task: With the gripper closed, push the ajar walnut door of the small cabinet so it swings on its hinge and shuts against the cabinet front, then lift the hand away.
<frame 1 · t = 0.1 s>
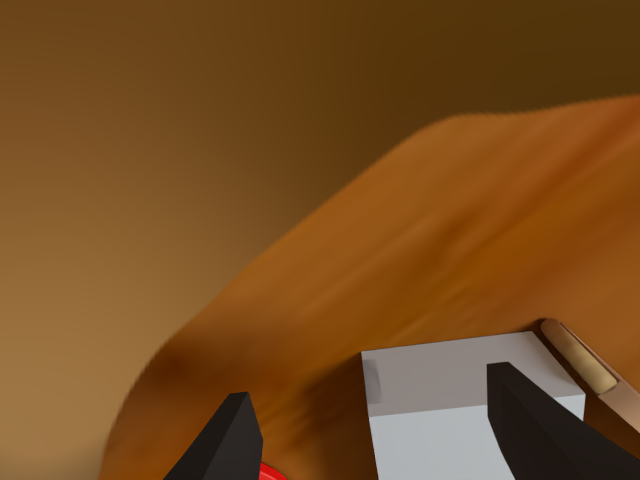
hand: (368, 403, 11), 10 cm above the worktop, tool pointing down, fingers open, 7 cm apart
cabinet: (450, 434, 25), on the worktop
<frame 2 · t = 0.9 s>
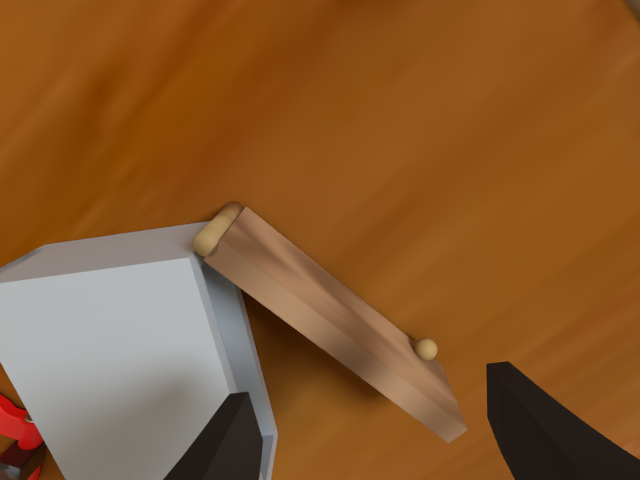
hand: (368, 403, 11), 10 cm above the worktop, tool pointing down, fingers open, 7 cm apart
cabinet: (172, 348, 23), on the worktop
door: (346, 309, 18), point 3 cm above the worktop, hinge at 40.0°
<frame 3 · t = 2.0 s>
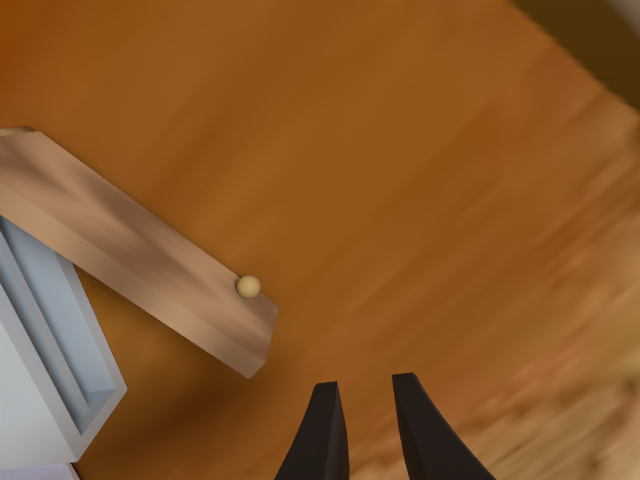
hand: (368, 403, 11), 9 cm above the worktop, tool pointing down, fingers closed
door: (139, 238, 17), point 3 cm above the worktop, hinge at 40.0°
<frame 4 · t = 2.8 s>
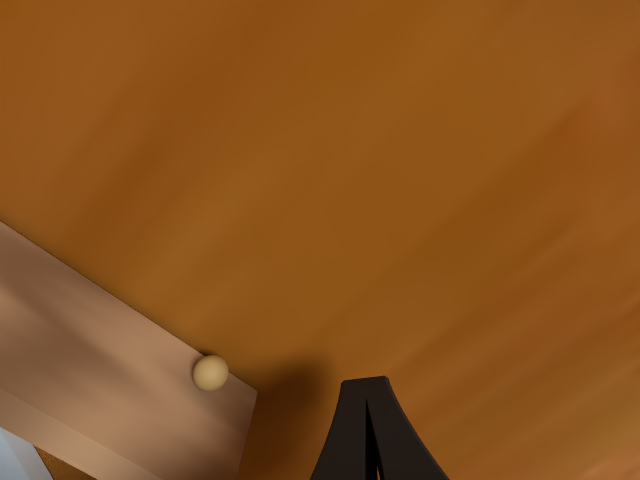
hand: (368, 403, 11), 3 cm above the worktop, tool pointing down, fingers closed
door: (36, 314, 11), point 3 cm above the worktop, hinge at 40.0°
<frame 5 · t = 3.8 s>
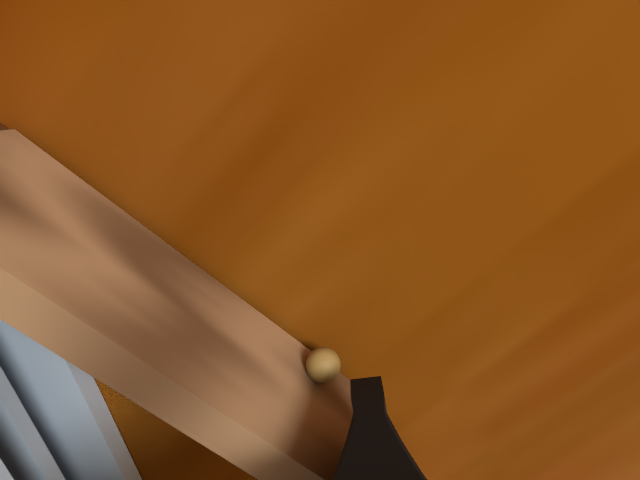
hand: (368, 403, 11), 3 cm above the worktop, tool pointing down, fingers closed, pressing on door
door: (169, 301, 11), point 3 cm above the worktop, hinge at 38.5°, touching gripper
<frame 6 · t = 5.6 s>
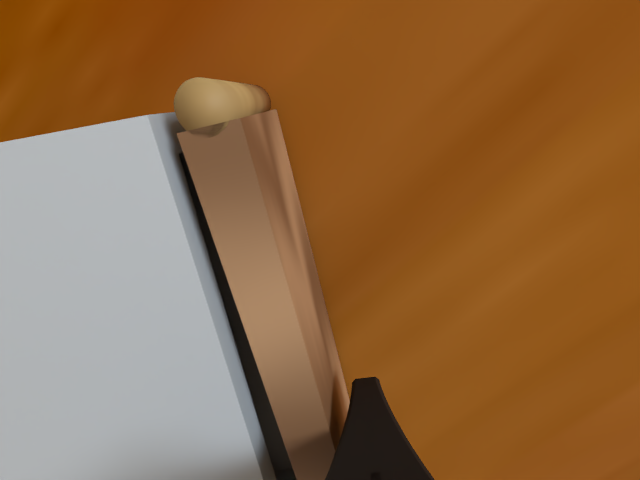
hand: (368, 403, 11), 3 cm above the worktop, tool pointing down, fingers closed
cabinet: (147, 335, 14), on the worktop
door: (323, 348, 11), point 3 cm above the worktop, hinge at 2.9°, touching gripper
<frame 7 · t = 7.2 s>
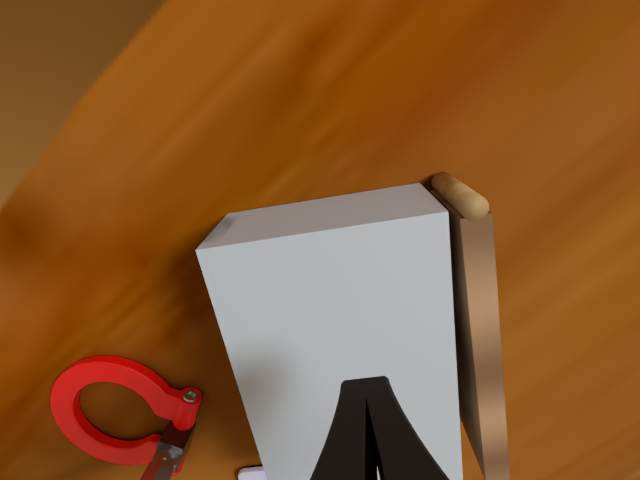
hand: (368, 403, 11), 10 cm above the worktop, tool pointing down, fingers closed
cabinet: (343, 322, 22), on the worktop
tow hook: (129, 405, 25), on the worktop
door: (480, 327, 19), point 3 cm above the worktop, hinge at 2.9°
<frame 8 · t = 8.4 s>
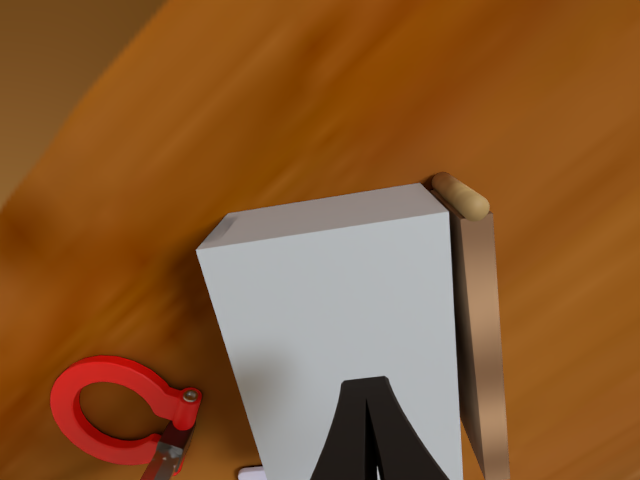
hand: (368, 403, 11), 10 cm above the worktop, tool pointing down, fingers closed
cabinet: (343, 322, 22), on the worktop
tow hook: (129, 405, 25), on the worktop
door: (481, 327, 19), point 3 cm above the worktop, hinge at 2.9°
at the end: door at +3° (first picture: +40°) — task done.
